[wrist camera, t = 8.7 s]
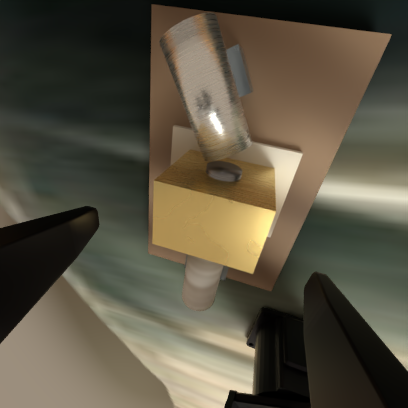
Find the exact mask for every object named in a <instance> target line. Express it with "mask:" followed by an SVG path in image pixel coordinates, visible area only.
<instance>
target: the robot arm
mask: <svg viewBox="0 0 408 408" xmlns="http://www.w3.org/2000/svg"><path fill="white" fill-rule="evenodd" d="M98 227H99V218H98V211H97V209H96V208H93V207H90V206H84V207H81V208H77V209H73V210H69V211H65V212H61V213H57V214H53V215H50V216H46V217H42V218H38V219H34V220H30V221H26V222H22V223H19V224H15V225H11V226H7V227H3V228H0V344H1V342H2V341H3V340H4V339H5V338H6V337H7V336H8V334H9V333H10V332H11V331H12V330H13V329H14V328H15V327H16V326H17V324H18V323H19V322H20V321H21V320H22V319H23V318H24V316H25V315H26V314H27V313H28V312H29V311H30V310H31V309H32V308H33V306H34V305H35V304H36V303H37V302H38V301H39V300H40V299H41V297H42V296H43V295H44V294H45V293H46V292H47V291H48V290H49V288H50V287H51V286H52V285H53V284H54V283H55V282H56V280H57V279H58V278H59V277H60V276H61V275H62V274H63V273H64V272H65V270H66V269H67V268H68V267H69V266H70V265H71V264H72V263H73V261H74V260H75V259H76V258H77V257H78V255H79V254H80V253H81V251H82V250H83V249H84V247H85V246H86V245H87V243H88V242H89V240H90V239H91V238H92V236H93V235H94V233H95V232H96V231H97V229H98ZM247 345H248V346H249V347H252V348H255V360H254V376H253V393H252V394H246V393H238V392H237V391H234V390H230V392H229V395H228V399H227V401H226V404H225V407H224V408H408V371H407V370H406V369H405V368H404V366H403V365H402V364H401V363H400V362H399V360H398V359H397V358H396V357H395V356H394V354H393V353H392V352H391V351H390V350H389V348H388V347H387V346H386V345H385V344H384V342H383V341H382V340H381V339H380V338H379V337H378V335H377V334H376V333H375V332H374V331H373V329H372V328H371V327H370V326H369V325H368V323H367V322H366V321H365V320H364V319H363V317H362V316H361V315H360V314H359V313H358V312H357V310H356V309H355V308H354V307H353V306H352V304H351V303H350V302H349V301H348V300H347V298H346V297H345V296H344V295H343V294H342V292H341V291H340V290H339V289H338V288H337V287H336V285H335V284H334V283H333V282H332V281H331V279H330V278H329V277H328V276H327V275H326V274H323V273H319V272H314V273H313V274H312V275H311V277H310V278H309V280H308V282H307V284H306V285H305V288H304V320H303V319H300V318H297V317H293V316H290V315H287V314H284V313H281V312H278V311H275V310H272V309H269V308H262V309H261V310H260V312H259V314H258V316H257V319H256V321H255V323H254V325H253V327H252V329H251V332H250V334H249V336H248V338H247Z"/></svg>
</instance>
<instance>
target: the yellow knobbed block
mask: <svg viewBox="0 0 408 408" xmlns="http://www.w3.org/2000/svg"><path fill="white" fill-rule="evenodd" d="M275 213H276V192H275V168H271V167H267V166H262V165H258V164H253V163H249V162H244V161H240V160H235V159H231V158H224V159H221V160H217V161H211V162H206V161H204V158H203V156H202V153H201V152H200V151H195V150H191V149H190V150H189V151H188V152H186V153H185V154H184V155H183V156H182V157H181V158H179V159H178V160H177V161H176V162H175V163H174V164H172V165H171V166H170V167H169V168H168V169H167V170H165V171H164V172H163V173H162V174H161V175H160V176H158V177H157V178H156V179H155V180H154V193H153V237H152V244H155V245H158V246H162V247H165V248H168V249H172V250H175V251H178V252H182V253H185V254H188V255H192V256H195V257H198V258H201V259H205V260H208V261H211V262H215V263H218V264H221V265H225V266H228V267H231V268H235V269H238V270H241V271H244V272H248V273H251V274H253V272H254V270H255V267H256V264H257V262H258V259H259V256H260V254H261V251H262V248H263V245H264V243H265V240H266V237H267V235H268V232H269V229H270V227H271V224H272V221H273V219H274V216H275Z"/></svg>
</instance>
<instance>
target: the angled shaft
mask: <svg viewBox="0 0 408 408" xmlns="http://www.w3.org/2000/svg"><path fill="white" fill-rule="evenodd" d="M159 43H160V46H161V48H162V51H163V54H164V56H165V59H166V61H167V64H168V67H169V69H170V72H171V74H172V77H173V80H174V82H175V85H176V88H177V90H178V93H179V95H180V98H181V101H182V103H183V106H184V109H185V111H186V114H187V116H188V119H189V122H190V124H191V127H192V129H193V132H194V135H195V137H196V140H197V143H198V145H199V148H200V150H201V153H202V156H203V158H204V161H206V162H211V161H217V160H221V159H224V158H227V157H230V156H232V155H235V154H237V153H239V152H241V151H243V150H245V149H247V148H248V147H250V146H251V145H252V139H251V136H250V132H249V129H248V125H247V122H246V118H245V115H244V111H243V108H242V104H241V101H240V97H242V96H244V95H247V94H249V93H251V92H253V87H252V83H251V79H250V75H249V72H248V68H247V64H246V60H245V56H244V52H243V49H242V47H241V46H240V45H239V44H237V45H235V46H233V47H231V48H229V49H227V50H226V48H225V44H224V41H223V37H222V34H221V30H220V27H219V23H218V20H217V16H216V14H215V13H202V14H198V15H195V16H192V17H190V18H188V19H186V20H183V21H182V22H180V23H178V24H176V25H175V26H173V27H172V28H170V29H169V30H168V31H167V32H166V33H164V35H163V36H162V37H161V38H160V41H159Z"/></svg>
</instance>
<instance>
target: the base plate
mask: <svg viewBox="0 0 408 408" xmlns="http://www.w3.org/2000/svg"><path fill="white" fill-rule="evenodd" d="M202 13H215V14H216V16H217V20H218V23H219V27H220V30H221V34H222V37H223V41H224V44H225V48H226V50H227V49H229V48H231V47H233V46H235V45H237V44H239V45H240V46H241V47H242V49H243V52H244V56H245V60H246V64H247V68H248V72H249V75H250V79H251V83H252V87H253V92H251V93H249V94H247V95H244V96H242V97H240V101H241V104H242V108H243V111H244V115H245V118H246V122H247V125H248V129H249V132H250V136H251V139H252V145H251V146H250V147H248V148H247V149H245V150H243V151H241V152H239V153H237V154H235V155H232V156H230V157H227V158H231V159H235V160H240V161H244V162H249V163H253V164H258V165H262V166H267V167H271V168H275V192H276V213H275V216H274V219H273V221H272V224H271V227H270V229H269V232H268V235H267V237H266V240H265V243H264V245H263V248H262V251H261V254H260V256H259V259H258V262H257V264H256V267H255V270H254V272H253V274H251V273H248V272H244V271H241V270H238V269H235V268H231V267H228V266H225V265H221V264H218V263H215V262H211V261H208V260H205V259H201V258H198V257H195V256H192V255H188V254H185V253H182V252H178V251H175V250H172V249H168V248H165V247H162V246H158V245H155V244H152V237H153V193H154V180H155V179H156V178H157V177H158V176H160V175H161V174H162V173H163V172H164V171H165V170H167V169H168V168H169V167H170V166H171V165H172V164H174V163H175V162H176V161H177V160H178V159H179V158H181V157H182V156H183V155H184V154H185V153H186V152H188V151H189V150H190V149H191V150H195V151H200V152H201V150H200V148H199V145H198V143H197V140H196V137H195V135H194V132H193V129H192V127H191V124H190V122H189V119H188V116H187V114H186V111H185V109H184V106H183V103H182V101H181V98H180V95H179V93H178V90H177V88H176V85H175V82H174V80H173V77H172V74H171V72H170V69H169V67H168V64H167V61H166V59H165V56H164V54H163V51H162V48H161V46H160V43H159V41H160V38H161V37H162V36H163V35H164V33H166V32H167V31H168V30H169V29H170V28H172V27H173V26H175V25H176V24H178V23H180V22H182V21H183V20H186V19H188V18H190V17H192V16H195V15H198V14H202ZM391 35H392V34H384V33H376V32H368V31H360V30H352V29H344V28H337V27H329V26H321V25H313V24H305V23H297V22H289V21H281V20H273V19H265V18H257V17H249V16H241V15H233V14H225V13H218V12H210V11H202V10H194V9H186V8H178V7H170V6H162V5H154V4H152V15H151V89H150V163H149V237H148V253H149V254H152V255H156V256H159V257H162V258H165V259H168V260H172V261H175V262H178V263H181V264H185V268H186V270H185V277H184V284H183V291H182V299H183V302H184V303H185V305H186V306H187V307H189V308H190V309H192V310H195V311H204V310H207V309H208V308H210V307H211V306H212V304H213V302H214V299H215V295H216V292H217V288H218V284H219V280H220V279H221V280H224V281H225V279H226V278H229V279H233V280H236V281H239V282H242V283H245V284H249V285H252V286H255V287H258V288H261V289H265V290H268V291H272V289H273V287H274V285H275V282H276V280H277V278H278V276H279V274H280V272H281V270H282V267H283V265H284V263H285V261H286V259H287V257H288V255H289V253H290V250H291V248H292V246H293V244H294V242H295V240H296V238H297V235H298V233H299V231H300V229H301V227H302V225H303V223H304V221H305V218H306V216H307V214H308V212H309V210H310V208H311V206H312V204H313V201H314V199H315V197H316V195H317V193H318V191H319V189H320V186H321V184H322V182H323V180H324V178H325V176H326V174H327V172H328V169H329V167H330V165H331V163H332V161H333V159H334V157H335V154H336V152H337V150H338V148H339V146H340V144H341V142H342V140H343V137H344V135H345V133H346V131H347V129H348V127H349V125H350V123H351V120H352V118H353V116H354V114H355V112H356V110H357V108H358V105H359V103H360V101H361V99H362V97H363V95H364V93H365V91H366V88H367V86H368V84H369V82H370V80H371V78H372V76H373V73H374V71H375V69H376V67H377V65H378V63H379V61H380V59H381V56H382V54H383V52H384V50H385V48H386V46H387V44H388V42H389V39H390V37H391Z"/></svg>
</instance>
